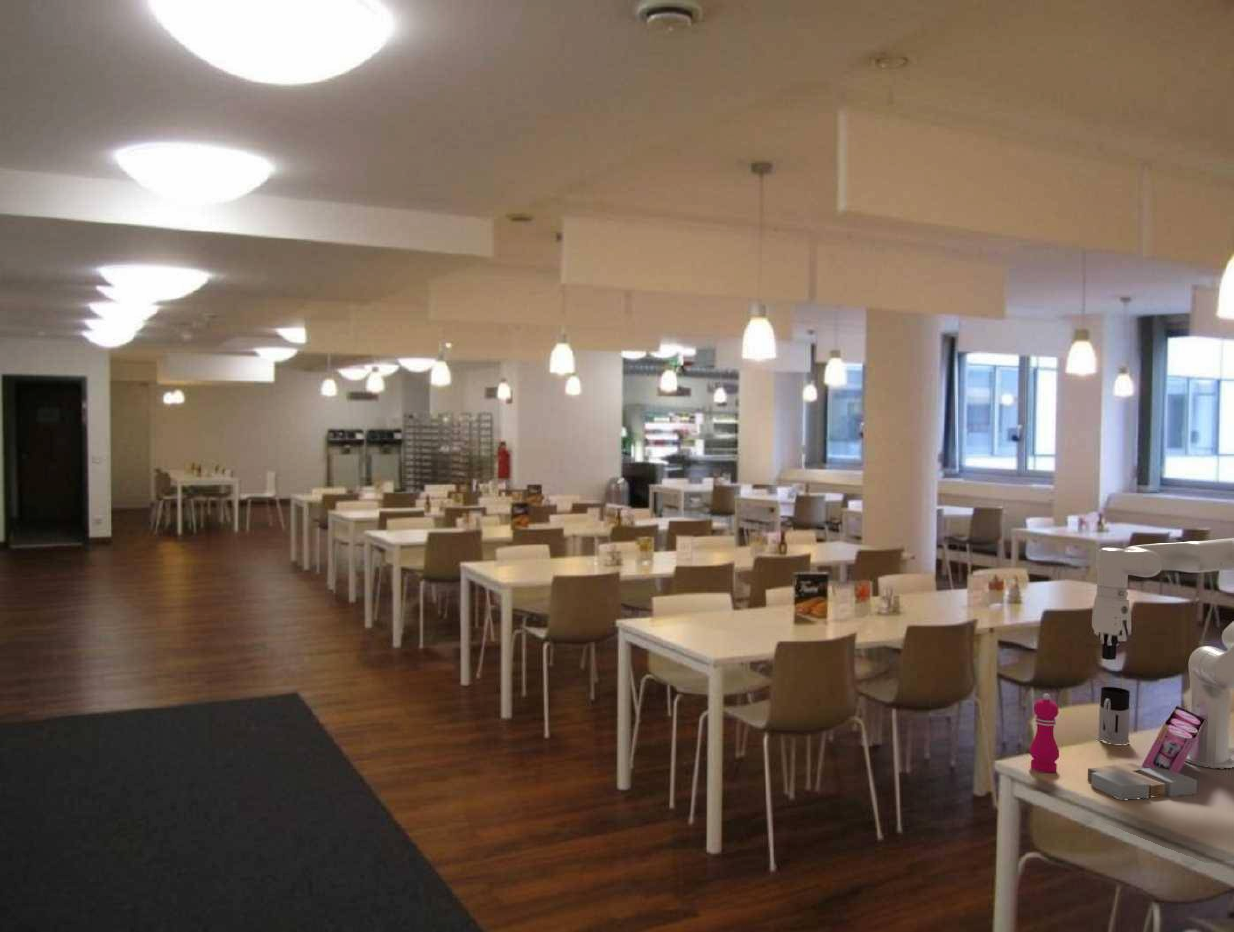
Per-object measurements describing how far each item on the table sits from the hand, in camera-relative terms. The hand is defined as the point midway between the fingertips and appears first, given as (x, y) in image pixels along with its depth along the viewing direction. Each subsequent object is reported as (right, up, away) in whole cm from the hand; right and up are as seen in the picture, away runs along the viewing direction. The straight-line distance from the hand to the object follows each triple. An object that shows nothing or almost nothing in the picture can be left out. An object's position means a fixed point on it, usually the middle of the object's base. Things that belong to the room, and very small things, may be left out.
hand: (1108, 658), depth 272 cm
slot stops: (-5, -28, -26) cm, 38 cm away
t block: (-6, -28, -24) cm, 37 cm away
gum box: (+9, -27, -10) cm, 30 cm away
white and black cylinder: (+7, -27, +13) cm, 31 cm away
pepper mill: (-23, -27, -12) cm, 38 cm away
